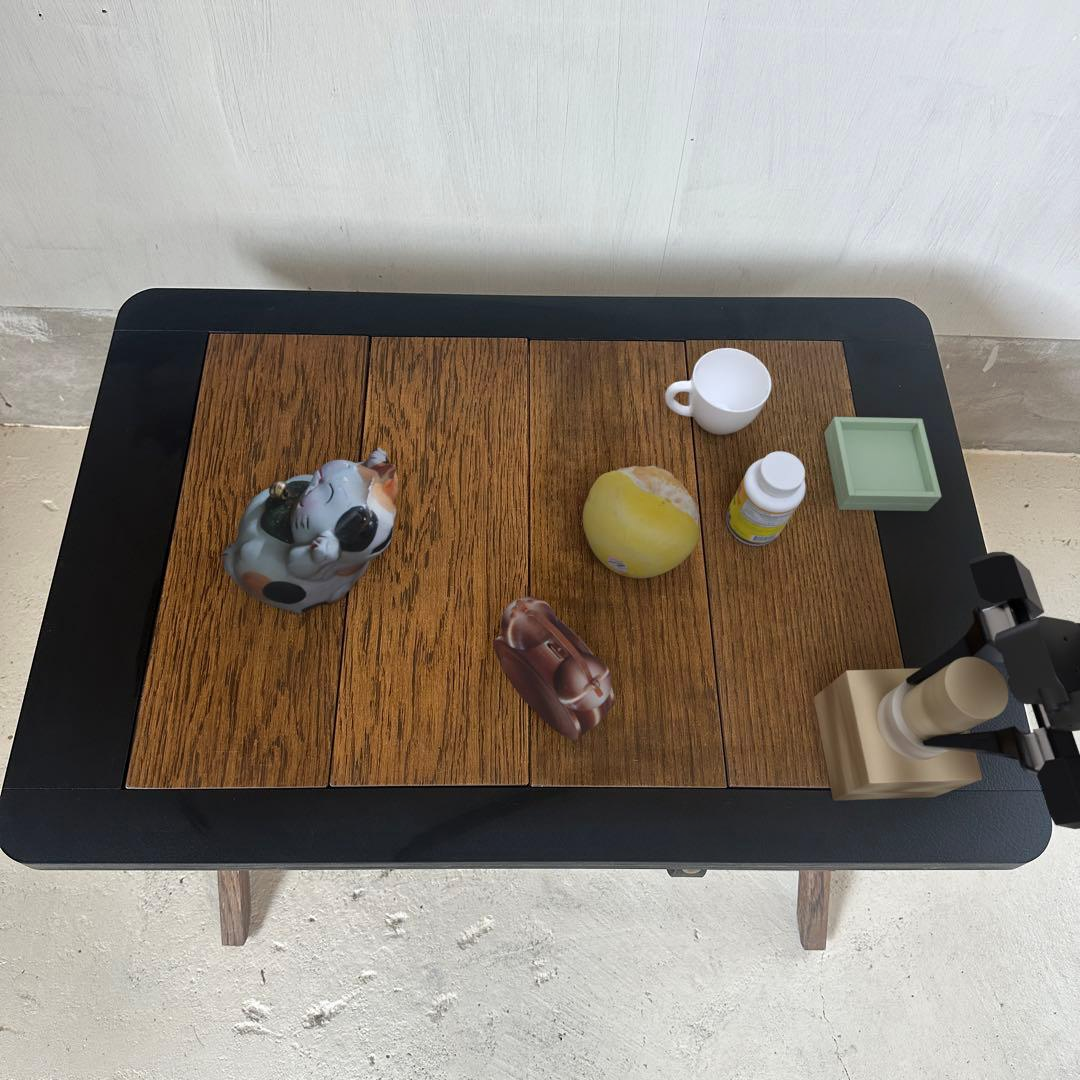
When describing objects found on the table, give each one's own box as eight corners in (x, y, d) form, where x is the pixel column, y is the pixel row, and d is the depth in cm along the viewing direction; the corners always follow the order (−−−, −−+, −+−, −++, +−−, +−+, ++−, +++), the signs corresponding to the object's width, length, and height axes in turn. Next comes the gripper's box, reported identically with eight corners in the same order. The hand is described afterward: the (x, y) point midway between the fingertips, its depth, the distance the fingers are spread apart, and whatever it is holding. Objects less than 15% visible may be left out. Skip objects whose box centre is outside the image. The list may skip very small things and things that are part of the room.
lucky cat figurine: (285, 467, 84) (334, 383, 74) (386, 538, 86) (446, 466, 76) (194, 572, 74) (236, 491, 64) (311, 649, 76) (369, 583, 66)
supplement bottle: (747, 488, 86) (777, 431, 76) (791, 523, 84) (827, 470, 75) (712, 522, 84) (739, 469, 74) (757, 559, 82) (789, 509, 73)
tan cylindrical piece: (955, 704, 68) (1025, 665, 59) (942, 772, 66) (1012, 742, 57) (884, 676, 69) (943, 634, 60) (869, 742, 66) (927, 708, 57)
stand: (910, 694, 77) (953, 667, 70) (935, 797, 73) (983, 779, 66) (813, 697, 76) (846, 670, 69) (832, 800, 72) (869, 783, 65)
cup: (757, 449, 88) (777, 412, 82) (662, 449, 87) (674, 411, 81) (747, 388, 91) (765, 347, 85) (655, 388, 91) (666, 347, 84)
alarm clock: (609, 722, 74) (635, 670, 61) (569, 759, 73) (586, 713, 59) (527, 633, 78) (534, 564, 64) (487, 666, 76) (485, 603, 63)
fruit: (680, 604, 80) (703, 559, 71) (568, 579, 80) (577, 531, 71) (695, 511, 84) (719, 458, 75) (589, 488, 85) (600, 432, 76)
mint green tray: (909, 434, 89) (922, 418, 87) (928, 511, 85) (942, 496, 83) (823, 432, 89) (833, 416, 86) (838, 510, 85) (849, 495, 82)
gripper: (1076, 492, 53) (842, 571, 63) (1197, 797, 45) (908, 837, 54) (1113, 542, 61) (899, 606, 70) (1222, 810, 53) (965, 844, 62)
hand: (916, 712), depth 64 cm, fingers closed on tan cylindrical piece, 4 cm apart
